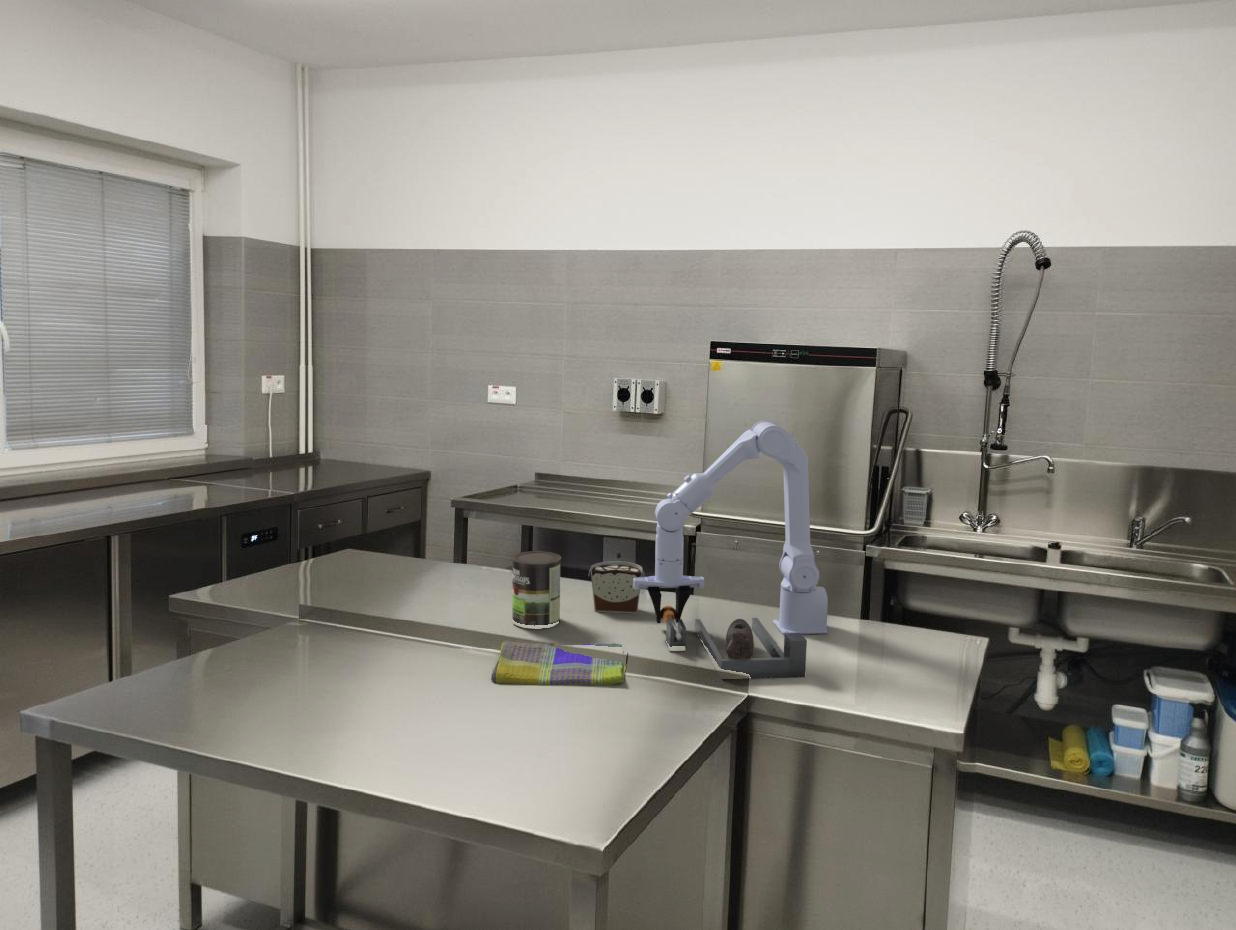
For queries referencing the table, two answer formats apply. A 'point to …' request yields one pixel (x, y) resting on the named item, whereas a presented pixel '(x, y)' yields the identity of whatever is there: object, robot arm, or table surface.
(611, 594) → the food container
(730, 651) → the perforated stone tool
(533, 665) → the dish towel
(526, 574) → the coffee can
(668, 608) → the lever
